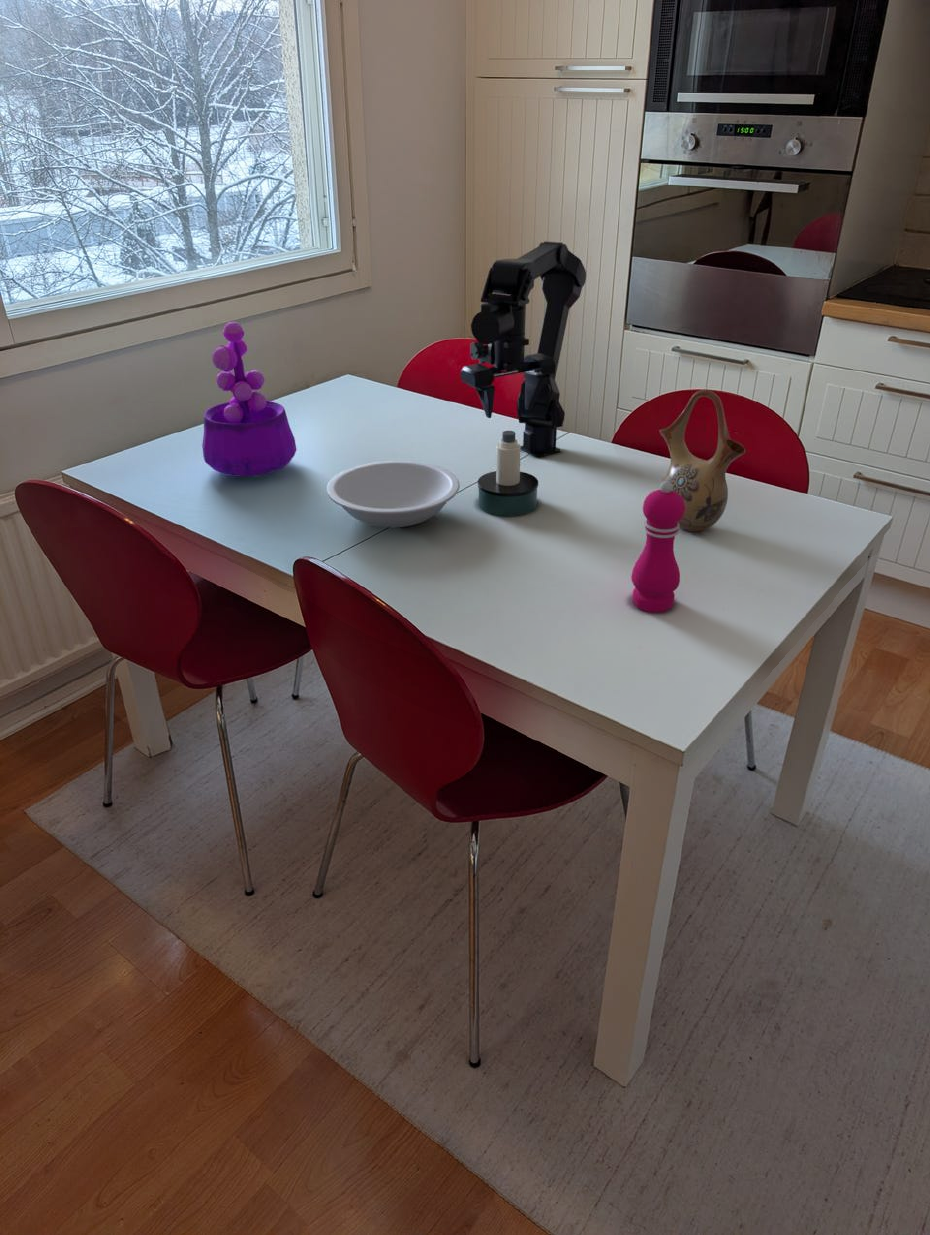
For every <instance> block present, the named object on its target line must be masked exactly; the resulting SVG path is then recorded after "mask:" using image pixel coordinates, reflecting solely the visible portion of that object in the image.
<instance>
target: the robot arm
mask: <svg viewBox="0 0 930 1235" xmlns="http://www.w3.org/2000/svg"><path fill="white" fill-rule="evenodd" d="M538 278H540V279H541V281H542V286H541V290H542V294H543V296H544V299H545V302H546V304H545V311H544V316H543V321H542V325H541V331H540V336H539V341H538V346H537V351H536V353H533V354H526V355H525V352H526V351H525V350H526V349H525V348H526V346H529V345H530V339H529V338H528V337H527V338H526V320H527V318H526V315H527V305H528V304H529V303H530V299H529V296H530V293H531V291H532V290H533V288H534V287H535V280H536V279H538ZM586 280H587V271H586V268H585V266H584V264H583V261H582V260H581V258H579V257H578V256H577V255H576V254H574V253H573V252H572V251H570V250H569V248H568V246H567V244H566V243H563V242H561V241H560V242H559V241H546V240H545V241H543V242H540V243H539V245H538V246H537V247H535V248H533V249H531V250H529V251H528V252H526V253H524V254H523V255H521V256H519V257H518V258H503V259H502V258H501V259H497V260H495V261H494V262H493V263H492V265H491V267H490V268H489V271H488V274H487V278H486V279H485V284H484V287H483V291H482V293H481V297H480V302H481V303H482V304H481V306H480V311H479V312H478V313H476V314H475V315H474V316H473V318H472V320H471V323H470V331H471V334H472V336H473V338H474V340H476V342H471V343H470V348H469V353H470V359H471V360H472V361H474V360H478V361H479V362H478V363H474V364H469V365H464V366H463V367H462V369H461V371H460V381H461V382H462V383H465V384H467V386H469V387H471V388H474V390H475V391H476V393H477V395H478V398H479V400H480V402H481V406H482V408H483V412H484V414H485V416H486V418H488V419H491V418H492V416H493V409H494V400H495V392H496V386H495V385H493V383H494V381H495V378H499V377H504V376H509V375H516V374H520V373H521V374H522V376H523V377H524V380H523V381H522V382H521V385H520V390H519V391H520V392H519V395H518V398H517V401H516V411H517V418H518V419H517V420H518V423H519V424H524V430H523V436H522V438H523V439H522V445H520V446H521V449H520V450H522V451H524V452H526V453H528V454H530V455H531V456H533V457H536V458H540V457H544V456H547V455H552V454H556V453H560V452H561V448H559V447H557V435H558V434H557V433H558V432H557V431H558V428H562V427H563V424H564V421H565V415H566V413H565V410H564V408H563V407H562V405H561V403H560V390H559V387H558V384H557V381H556V376H557V372H558V366H559V362H560V357H561V353H562V352H561V351H562V348H563V342H564V339H565V338H564V337H565V332H566V328H567V322H568V318H569V312H570V309H571V308H572V307H573V306H574V304H575V303H576V302H577V301H578V300H579V299H580V297H581V294H582V291H583V288H584V286H585V284H586ZM485 363H487V365H491V366H492V367H488V366H487V365H483V364H485Z"/></svg>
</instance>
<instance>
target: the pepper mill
mask: <svg viewBox="0 0 930 1235" xmlns="http://www.w3.org/2000/svg"><path fill="white" fill-rule="evenodd" d="M672 489H673V485H672V483H671V482H669V481H664V482H663V481H662V482H661V483H660V485H659V489H655V490H653V491H651V492H650V493H649V494H648V495H647V496H646V497H645V498H644V501H643V505H642V513H643V516H644V518H646V519H645V520H644V527H643V531H644V532H645V534H646V538H645V539H646V540H645V545H644V548H643V550H642V552H641V553H640V555H639V557H638V558H637V560H636V561H635V564H634V566H633V568H632V571H631V577H630V579H631V582H632V585H633V587H634V588H633V589H632V590H633V591H632V599H631V601H632V604H633V605H634V606H635V607H636V608H637V609H638V610H641V611H644V612H647V613H664V612H667V611H670V610H671V608H673V607H674V604H675V591H676V590H677V589H678V587H679V586H680V583H681V572H680V567H679V565H678V562H677V559H676V556H675V551H674V548H675V547H674V546H675V545H674V544H675V539H676V536H677V535H678V534H679V533H680V528H679V526H680V525H679V521H680V520H681V519H682V518H683V516H684V513H685V503H684V500H683V498H682V497H681V496H680V495H679V494H678V493H677V492H675V491H672Z"/></svg>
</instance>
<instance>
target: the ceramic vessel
mask: <svg viewBox="0 0 930 1235" xmlns="http://www.w3.org/2000/svg"><path fill="white" fill-rule="evenodd" d="M702 397H706V398H708V399H710V400H711V401H712V402H713V403H714V407H715V411H716V416H717V426H718V433H717V434H718V436H717V446H716V450H715V452H714V455H713V456H712V457H711V458H709V459H708V460H706V459H703V458H700V457H697V456H696V455H693V454H692V453H691V451H689V449H688V446H687V443H686V440H685V433H686V429H687V425H688V422H689V419H690V416H691V414H692V411H693V409H694V407H695V406H696V403H697V401H698V400H699V398H702ZM724 411H725V410H724V407H723V402H722V400H721V398H720V397H719V396H718V394H716V393H715V392H714V391H712V390H710V389H701V390H698V391H696V392H694V393H693V394H692V396H691V397H690V398H689V400H688V402H687V404H686V406H685V407H684V409H683V410H682V412H681V413H680V414H679V415H678V417H677V418H676V419H675V420H674V421H673V422H672V423H671V424H670V426H668V427H664V428H661V429H659V430H658V432H659V434H660V436H662V438H663V439H664V441H665V443H666V445H667V447H668V451H669V455H670V465H669V468H668V470H667V471H666V473H665V475H664V477H663V480H662V482H664V481H669V482H671V483H672V485H673V489H672V491H675V492H677V493H678V494H679V495H680V496H681V497H682V498H683V500H684V503H685V513H684V516H683V518H682V519H681V520H680V521H679V525H680V526H679V528H678V529H681V530H684V531H687V532H693V533H699V532H704V531H706V530H707V529H709V528H711V527H713V526H714V525H715V524H717V522H718V521H719V520H720V519H721V517H722V516H723V514H724V513H725V510H726V507H727V504H728V498H729V489H728V484H727V479H726V473H727V470H728V468H729V466H730V465H731V463H733V462H734V461H735V460H737V459H738V458H740V457H741V456H742V455H744V454H745V453H746V450H747V449H746V447H745V446H744V445H743V444H742V443H741V442H739V441H738V440H735V439H734V440H733V439H732V438H731V436H730V433H729V430H728V426H727V421H726V416H725V412H724Z"/></svg>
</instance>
